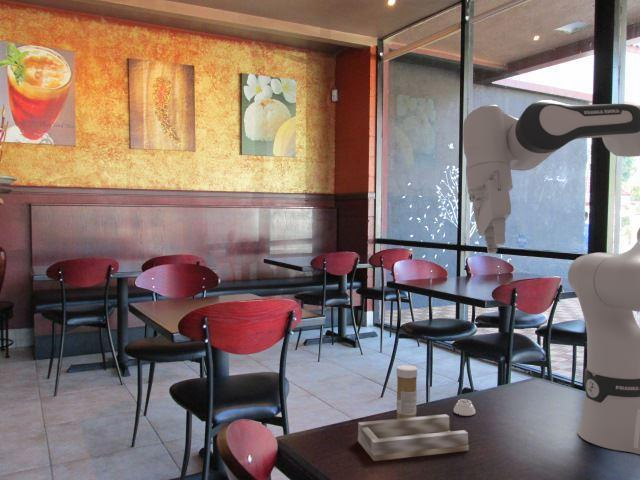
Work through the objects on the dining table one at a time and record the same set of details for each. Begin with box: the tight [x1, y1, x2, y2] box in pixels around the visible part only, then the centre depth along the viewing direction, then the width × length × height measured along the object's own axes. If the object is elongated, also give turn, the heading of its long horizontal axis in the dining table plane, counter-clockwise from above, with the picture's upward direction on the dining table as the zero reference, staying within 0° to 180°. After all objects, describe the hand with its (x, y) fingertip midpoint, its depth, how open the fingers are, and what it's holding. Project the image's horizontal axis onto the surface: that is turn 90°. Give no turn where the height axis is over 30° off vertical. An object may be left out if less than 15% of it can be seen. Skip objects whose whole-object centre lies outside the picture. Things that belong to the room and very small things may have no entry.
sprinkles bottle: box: [396, 364, 418, 419], centre depth 125 cm, size 5×5×13 cm
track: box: [357, 413, 470, 462], centre depth 114 cm, size 20×10×4 cm, turn 104°
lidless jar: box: [453, 398, 476, 417], centre depth 134 cm, size 5×3×5 cm
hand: (496, 248), depth 112 cm, fingers open, 8 cm apart
